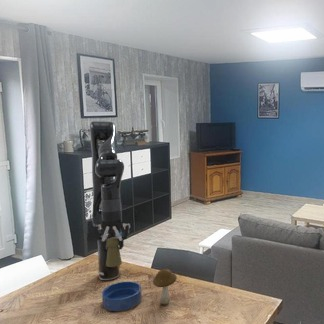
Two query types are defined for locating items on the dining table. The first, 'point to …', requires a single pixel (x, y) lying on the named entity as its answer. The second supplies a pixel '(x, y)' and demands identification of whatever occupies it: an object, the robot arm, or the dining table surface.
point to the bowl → (121, 296)
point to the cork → (113, 252)
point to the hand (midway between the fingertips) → (113, 248)
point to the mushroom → (164, 283)
